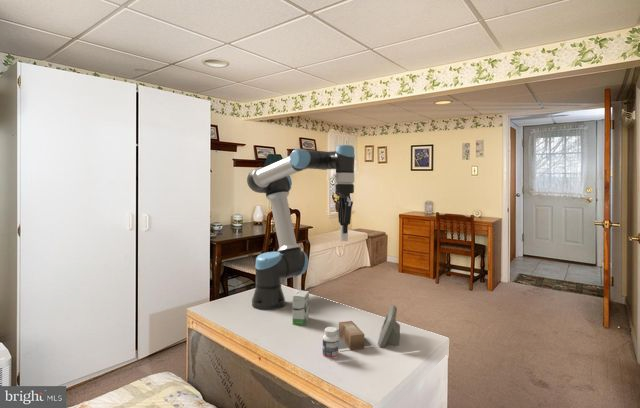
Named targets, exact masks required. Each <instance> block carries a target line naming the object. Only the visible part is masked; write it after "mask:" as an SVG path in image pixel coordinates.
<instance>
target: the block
mask: <svg viewBox="0 0 640 408" xmlns="http://www.w3.org/2000/svg"><path fill="white" fill-rule="evenodd" d="M338 330H339V336H340V338H341V339H342V340H343V341H344V343H345V344H346V345H347V347H348V348H349V349H350V351H356V349H358V350H365V349H364V337H365V333H364V332H363V331H362V330H361V329H360V328H359V327H358V326H357V324H355V323H354V321H353V320H348V321H338Z"/></svg>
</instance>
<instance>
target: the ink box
mask: <svg viewBox="0 0 640 408" xmlns="http://www.w3.org/2000/svg"><path fill="white" fill-rule="evenodd" d="M309 312H310V291H309V290H308V291H307V290H301V289H299V290H296V292H295V293H294V294H293V296H292V325H293V326H294V325H295V326H305V325H306V324H307V321H308V320H309V318H310V317H309V316H310V315H309Z"/></svg>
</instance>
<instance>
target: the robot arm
mask: <svg viewBox="0 0 640 408" xmlns="http://www.w3.org/2000/svg"><path fill="white" fill-rule="evenodd" d="M355 157H356V155H355V147H354V146H353V145H352V144H351V145H350V144H339V145H336V147H335V150H334V151H331V150H330V151H324V150H323V151H322V150H311V149H305V148H296V149H293V150H292V152H291V153H290V154H289V156H287V157H284V158H282V159H280V160H278V161H275V162H273V163H270V164H269V165H267V166H264V167H262V166H259V167H257V168H254V169H251V171H250V172H249V173H248V175H247V177H246V183H247V186H248V188H250V190H251V191H253V192H255V193H258V194H265V197H266V199H267V200H269V202H270V207H271V212H272V213H271V214H272V216H273V221H274V227H275V232H276V237H277V241H278V249H277V251H267V252H263V253H260V254H259V255H257V256H256V257H255V265H254V267H255V288H254V293H253V296H252V298H251V306H252V307H253V308H255V309H258V310H266V311H268V310H270V311H271V310H277V309H280V308H282V307H284V306H285V304H286V298H285V295H284V292H283V289H282V280H284V279H289V278H294V277H298V276H301V275H303V274H305V273H306V271H307V269H308V267H309V258H308V255H307V253H306V252H305V251H303V250H302V248H301V246H300V245H299V244H297V239H296V234H295V229H294V225H293V220H292V216H291V215H292V214H291V210H290V206H289V201H288V196H289V195H290V191H291V189H292V185H293V182H292V178H291V175H294V174H296V173H299V172H302V171H304V170H310V169H311V170H312V169H313V170H320V171H321V170H323V171H326V170H335V175H334V178H335V183H336V184H335V194H339V197H338V199H337V200H336V204H337V217H338V223H339V224H340V237H339V238H340V242H348V241H349V239H348V237H349V225H351V221H352V220H351V219H352V207H353V200H351V199H352V198H351V194H355V185H354V183H355V159H356V158H355Z"/></svg>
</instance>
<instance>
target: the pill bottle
mask: <svg viewBox="0 0 640 408" xmlns="http://www.w3.org/2000/svg"><path fill="white" fill-rule="evenodd" d="M337 330H338V329H337V328H336V327H335V326H327V327H326V328H324V334H323V336H322V356H323V357H324V358H326V359H336V358H338V357H339V356H340V355H339V352H340V351H339V349H338V344H339V337H338V335H337Z"/></svg>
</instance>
